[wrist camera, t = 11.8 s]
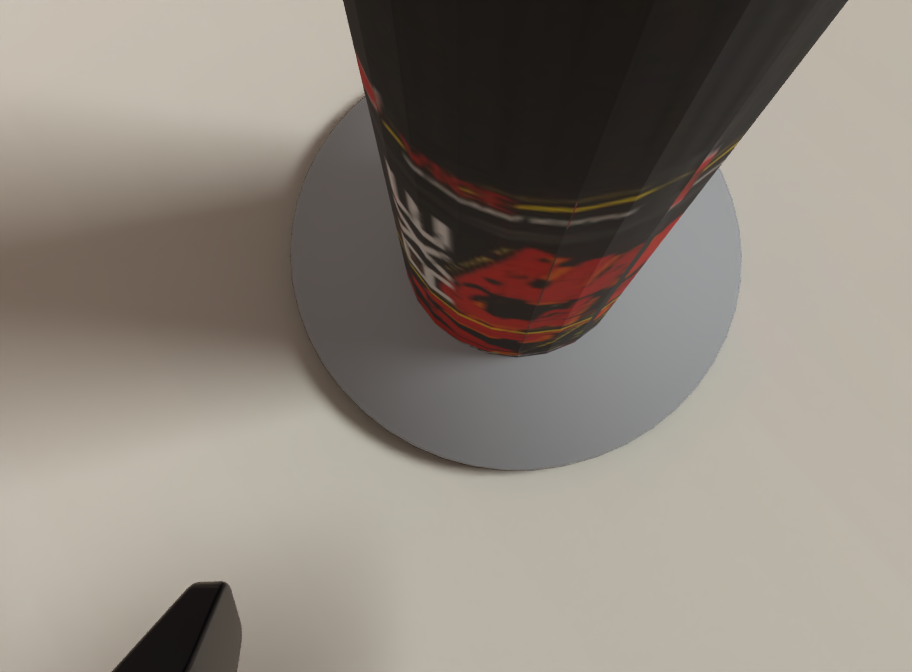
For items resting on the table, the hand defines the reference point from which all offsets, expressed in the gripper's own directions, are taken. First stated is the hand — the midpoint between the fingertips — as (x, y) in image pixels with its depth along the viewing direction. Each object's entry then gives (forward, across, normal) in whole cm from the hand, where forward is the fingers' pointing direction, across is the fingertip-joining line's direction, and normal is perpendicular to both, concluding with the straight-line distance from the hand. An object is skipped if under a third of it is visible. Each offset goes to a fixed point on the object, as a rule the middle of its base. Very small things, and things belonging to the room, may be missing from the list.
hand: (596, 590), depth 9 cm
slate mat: (+12, 0, +1) cm, 12 cm away
